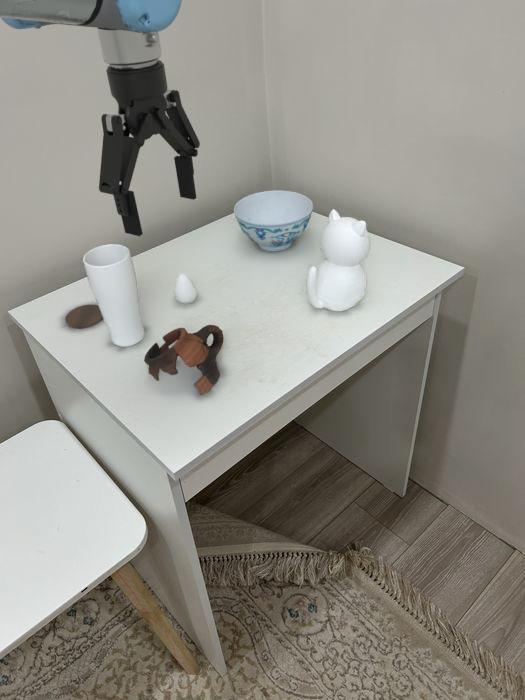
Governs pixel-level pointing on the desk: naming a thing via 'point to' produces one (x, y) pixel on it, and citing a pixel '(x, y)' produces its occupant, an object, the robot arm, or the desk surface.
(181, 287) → the egg
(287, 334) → the desk surface
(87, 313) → the coaster
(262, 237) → the chinaware
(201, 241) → the desk surface
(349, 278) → the cat figurine
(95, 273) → the drinking glass
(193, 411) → the desk surface
